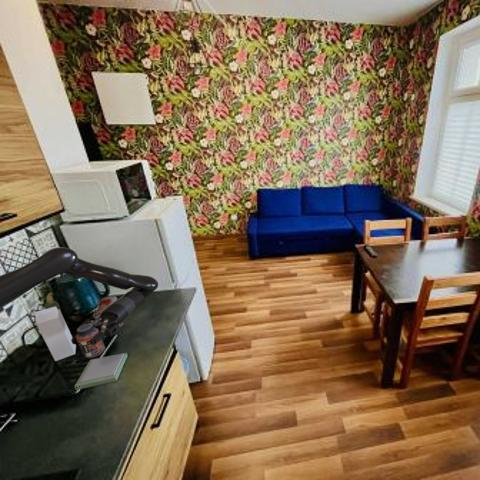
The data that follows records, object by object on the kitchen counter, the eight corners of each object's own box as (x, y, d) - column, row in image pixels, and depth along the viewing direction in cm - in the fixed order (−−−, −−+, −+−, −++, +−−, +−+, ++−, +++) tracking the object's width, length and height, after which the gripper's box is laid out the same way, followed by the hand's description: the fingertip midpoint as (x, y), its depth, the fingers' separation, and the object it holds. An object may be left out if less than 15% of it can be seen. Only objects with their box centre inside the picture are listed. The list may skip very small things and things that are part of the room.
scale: (75, 391, 92) (72, 385, 90) (91, 364, 102) (88, 358, 101) (117, 382, 95) (114, 376, 94) (128, 357, 106) (126, 351, 104)
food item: (118, 323, 124) (111, 306, 120) (96, 329, 120) (89, 311, 116) (122, 307, 135) (116, 291, 131) (102, 312, 131) (96, 295, 127)
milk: (76, 355, 106) (55, 310, 98) (55, 363, 103) (32, 316, 94) (76, 346, 111) (56, 302, 102) (56, 353, 107) (34, 308, 99)
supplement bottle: (93, 360, 91) (81, 335, 87) (80, 357, 92) (67, 332, 88) (109, 347, 96) (99, 323, 92) (97, 344, 98) (86, 320, 93)
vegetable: (57, 336, 116) (39, 298, 108) (56, 332, 118) (38, 294, 111) (71, 331, 119) (53, 293, 111) (69, 327, 121) (52, 289, 114)
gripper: (98, 302, 103) (57, 333, 88) (134, 303, 103) (99, 334, 88) (104, 317, 106) (65, 350, 91) (139, 318, 106) (106, 351, 91)
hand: (82, 342), depth 89 cm, fingers closed on supplement bottle, 6 cm apart
